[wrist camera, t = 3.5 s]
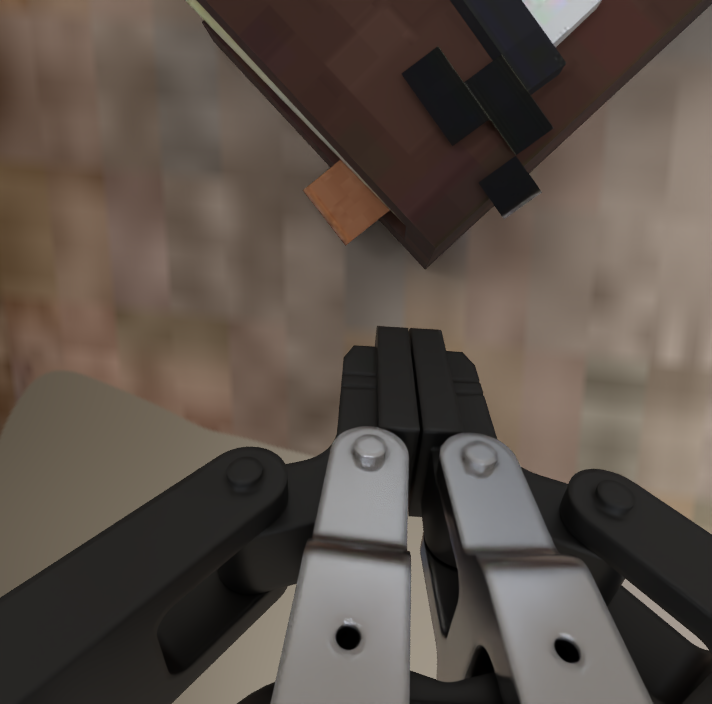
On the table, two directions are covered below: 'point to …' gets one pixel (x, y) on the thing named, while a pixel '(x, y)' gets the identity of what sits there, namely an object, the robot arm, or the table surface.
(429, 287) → the table surface
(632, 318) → the table surface
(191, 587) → the robot arm
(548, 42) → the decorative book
